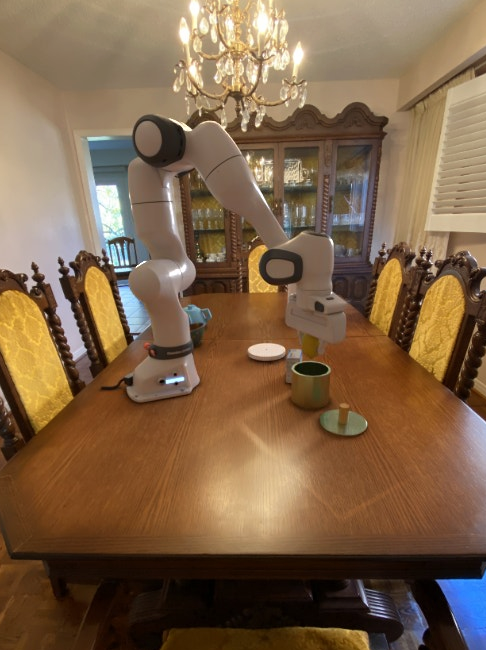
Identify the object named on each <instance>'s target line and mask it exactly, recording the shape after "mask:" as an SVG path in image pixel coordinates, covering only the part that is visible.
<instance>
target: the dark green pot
mask: <svg viewBox="0 0 486 650" xmlns="http://www.w3.org/2000/svg"><path fill="white" fill-rule="evenodd" d="M189 327H190V337H191V339H192V343H193V349H194V348H195V347H198V346H200V344H201V342H202V340H203V337H204V336H205V335H204V334H205V326H204V323H194V324H189ZM151 336H152V337H153V333H152V332H151Z"/></svg>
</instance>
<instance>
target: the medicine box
mask: <svg viewBox="0 0 486 650" xmlns="http://www.w3.org/2000/svg"><path fill="white" fill-rule="evenodd" d="M285 361H286V362H285V382H286V384H291V379H292V366H293V365H294V364H296V363H299V362H303V351H302V349H299V348H289V349H288V353H287V355H286V359H285Z"/></svg>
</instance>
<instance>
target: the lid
mask: <svg viewBox="0 0 486 650" xmlns="http://www.w3.org/2000/svg"><path fill="white" fill-rule="evenodd" d="M319 424H320V426H321V428H322V429H323V430H325V431H326V432H328V433H329V434H331V435H335V436H338V437H345V438H346V437H347V438H348V437H349V438H350V437H357V436H360V435H362V434H364V433H365V432H366V430H367V428H368V422H367V420H366V419H365V418H364V416H362V415H361V414H359V413H357V412H354V411H352V410H350V404H348V403H345V402H341V403H339V405H338V409H330V410H326V411H325V412H324V413H323V412H322V414H321V415H320V417H319Z"/></svg>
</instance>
